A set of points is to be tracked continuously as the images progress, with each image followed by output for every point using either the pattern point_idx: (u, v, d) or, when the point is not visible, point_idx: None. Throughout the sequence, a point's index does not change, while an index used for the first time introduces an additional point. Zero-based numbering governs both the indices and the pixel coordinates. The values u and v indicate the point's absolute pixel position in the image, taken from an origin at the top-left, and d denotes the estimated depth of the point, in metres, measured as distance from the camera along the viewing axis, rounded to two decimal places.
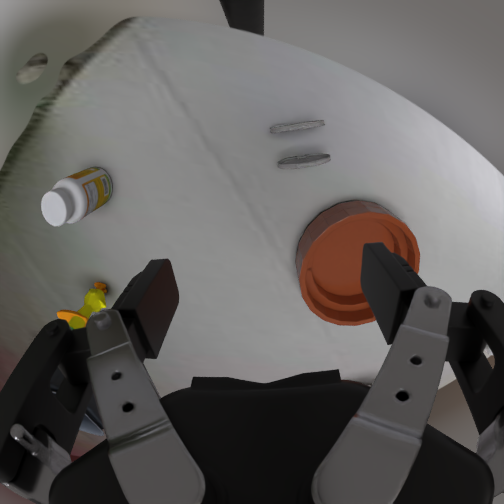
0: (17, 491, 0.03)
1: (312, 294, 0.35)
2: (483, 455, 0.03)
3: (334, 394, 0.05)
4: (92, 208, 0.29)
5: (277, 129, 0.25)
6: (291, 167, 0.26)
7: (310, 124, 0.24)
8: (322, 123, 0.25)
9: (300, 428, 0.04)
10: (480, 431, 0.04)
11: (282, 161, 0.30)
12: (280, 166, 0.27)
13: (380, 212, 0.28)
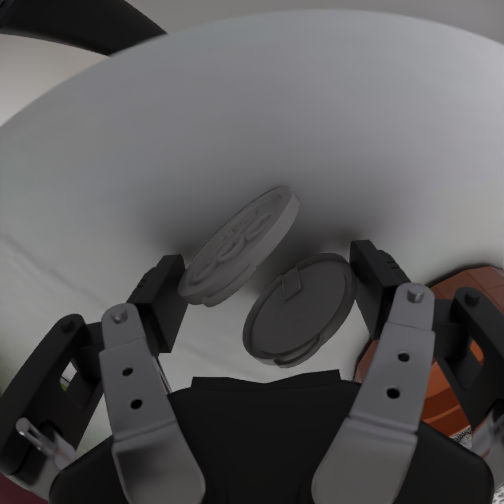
0: (19, 483, 0.03)
1: None
2: (479, 451, 0.03)
3: (334, 394, 0.05)
4: None
5: None
6: (267, 363, 0.10)
7: (250, 260, 0.08)
8: (289, 217, 0.08)
9: (300, 428, 0.04)
10: (473, 426, 0.04)
11: (256, 306, 0.14)
12: (248, 349, 0.12)
13: None
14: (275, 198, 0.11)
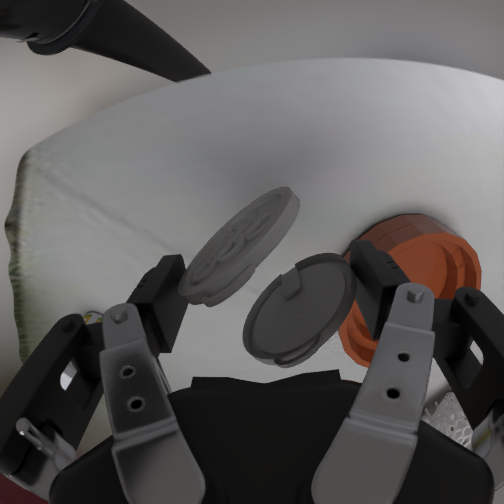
0: (19, 483, 0.03)
1: (369, 348, 0.27)
2: (479, 451, 0.03)
3: (334, 394, 0.05)
4: None
5: (184, 298, 0.10)
6: (267, 363, 0.10)
7: (250, 259, 0.08)
8: (289, 217, 0.08)
9: (300, 428, 0.04)
10: (473, 426, 0.04)
11: (256, 306, 0.14)
12: (248, 349, 0.12)
13: (410, 237, 0.19)
14: (275, 198, 0.11)
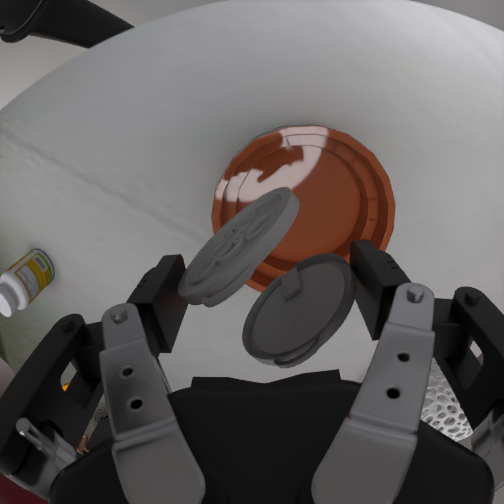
0: (19, 483, 0.03)
1: (270, 275, 0.27)
2: (479, 451, 0.03)
3: (334, 394, 0.05)
4: (34, 287, 0.27)
5: (183, 298, 0.10)
6: (267, 363, 0.10)
7: (249, 260, 0.08)
8: (289, 217, 0.08)
9: (300, 428, 0.04)
10: (473, 426, 0.04)
11: (256, 306, 0.14)
12: (248, 349, 0.12)
13: (272, 131, 0.20)
14: (275, 198, 0.11)
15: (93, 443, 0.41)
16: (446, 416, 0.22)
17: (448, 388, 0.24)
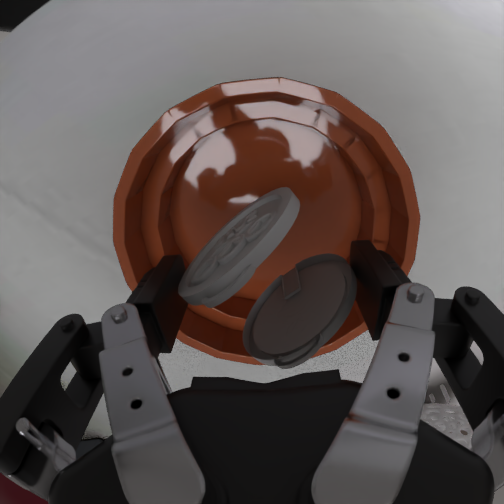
0: (19, 483, 0.03)
1: (220, 323, 0.18)
2: (479, 451, 0.03)
3: (334, 394, 0.05)
4: None
5: (184, 298, 0.10)
6: (268, 363, 0.10)
7: (250, 260, 0.08)
8: (289, 218, 0.08)
9: (300, 428, 0.04)
10: (473, 426, 0.04)
11: (256, 306, 0.14)
12: (248, 350, 0.12)
13: None
14: (275, 199, 0.11)
15: None
16: None
17: None
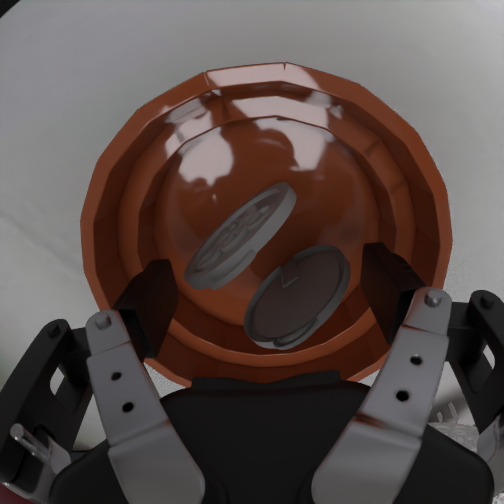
0: (17, 491, 0.03)
1: (214, 356, 0.15)
2: (483, 455, 0.03)
3: (334, 394, 0.05)
4: None
5: (189, 284, 0.10)
6: (267, 346, 0.11)
7: (251, 246, 0.09)
8: (286, 208, 0.09)
9: (300, 428, 0.04)
10: (480, 431, 0.04)
11: (256, 295, 0.15)
12: (249, 335, 0.12)
13: None
14: (274, 193, 0.12)
15: None
16: None
17: None
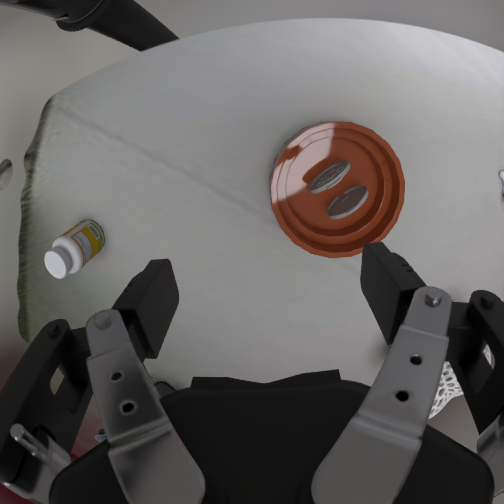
0: (17, 491, 0.03)
1: (309, 238, 0.34)
2: (483, 455, 0.03)
3: (334, 394, 0.05)
4: (88, 252, 0.34)
5: (316, 190, 0.29)
6: (341, 216, 0.29)
7: (341, 175, 0.27)
8: (349, 166, 0.28)
9: (300, 428, 0.04)
10: (480, 431, 0.04)
11: (329, 208, 0.33)
12: (331, 217, 0.31)
13: (318, 125, 0.26)
14: (339, 164, 0.30)
15: None
16: None
17: None
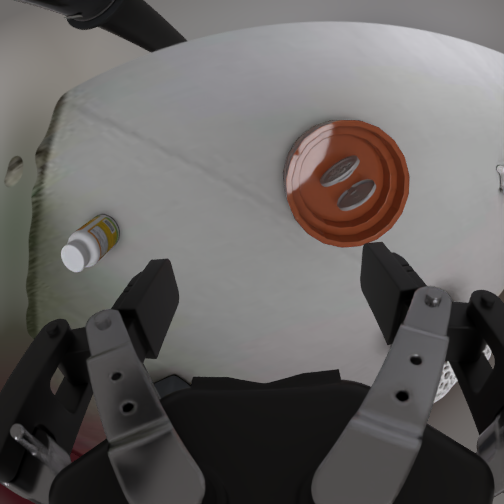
0: (17, 491, 0.03)
1: (320, 229, 0.35)
2: (483, 455, 0.03)
3: (334, 394, 0.05)
4: (105, 246, 0.35)
5: (328, 184, 0.30)
6: (352, 208, 0.31)
7: (351, 169, 0.29)
8: (358, 161, 0.29)
9: (300, 428, 0.04)
10: (480, 431, 0.04)
11: (339, 200, 0.35)
12: (342, 209, 0.32)
13: (330, 123, 0.28)
14: (348, 159, 0.32)
15: None
16: None
17: None
